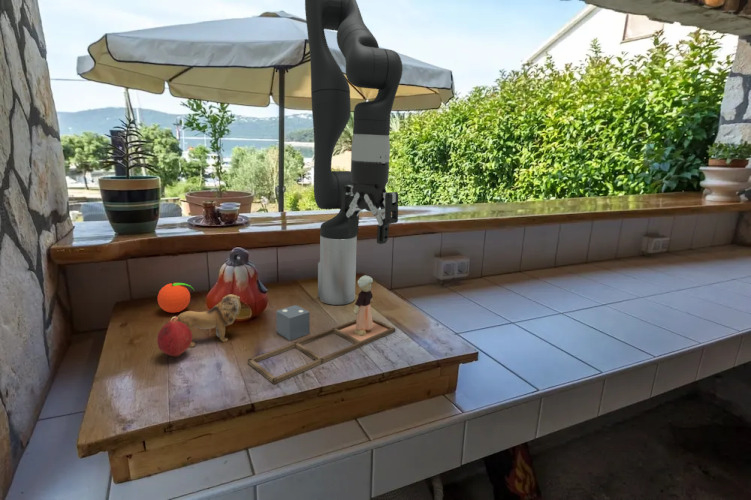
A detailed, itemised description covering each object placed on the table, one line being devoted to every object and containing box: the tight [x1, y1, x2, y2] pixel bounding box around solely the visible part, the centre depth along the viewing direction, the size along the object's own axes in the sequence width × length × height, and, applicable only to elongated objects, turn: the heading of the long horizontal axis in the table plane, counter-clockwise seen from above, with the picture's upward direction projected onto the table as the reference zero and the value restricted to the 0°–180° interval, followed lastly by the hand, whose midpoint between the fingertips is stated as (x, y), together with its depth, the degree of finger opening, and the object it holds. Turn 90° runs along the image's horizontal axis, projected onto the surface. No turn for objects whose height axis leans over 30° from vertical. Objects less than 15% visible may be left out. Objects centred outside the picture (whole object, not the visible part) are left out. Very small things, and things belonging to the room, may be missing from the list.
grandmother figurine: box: [352, 274, 374, 336], centre depth 89 cm, size 8×4×13 cm, turn 164°
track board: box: [247, 317, 396, 385], centre depth 83 cm, size 9×31×1 cm, turn 135°
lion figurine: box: [176, 294, 242, 348], centre depth 82 cm, size 15×5×9 cm, turn 122°
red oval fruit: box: [156, 315, 193, 358], centre depth 76 cm, size 6×6×8 cm
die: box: [275, 304, 311, 341], centre depth 88 cm, size 5×5×5 cm
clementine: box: [157, 282, 195, 314], centre depth 96 cm, size 8×7×7 cm
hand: (367, 238), depth 85 cm, fingers open, 8 cm apart
